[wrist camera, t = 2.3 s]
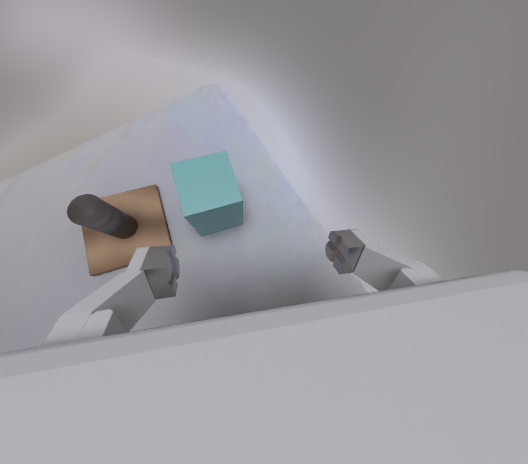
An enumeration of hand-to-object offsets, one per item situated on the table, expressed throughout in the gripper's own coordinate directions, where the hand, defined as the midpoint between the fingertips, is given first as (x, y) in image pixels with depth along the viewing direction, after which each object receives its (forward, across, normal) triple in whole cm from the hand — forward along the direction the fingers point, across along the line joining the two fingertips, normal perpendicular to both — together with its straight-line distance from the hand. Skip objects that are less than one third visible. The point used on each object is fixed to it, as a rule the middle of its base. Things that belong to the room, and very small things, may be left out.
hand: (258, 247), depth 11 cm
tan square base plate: (+18, +14, +9) cm, 25 cm away
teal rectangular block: (+19, +2, +8) cm, 20 cm away
